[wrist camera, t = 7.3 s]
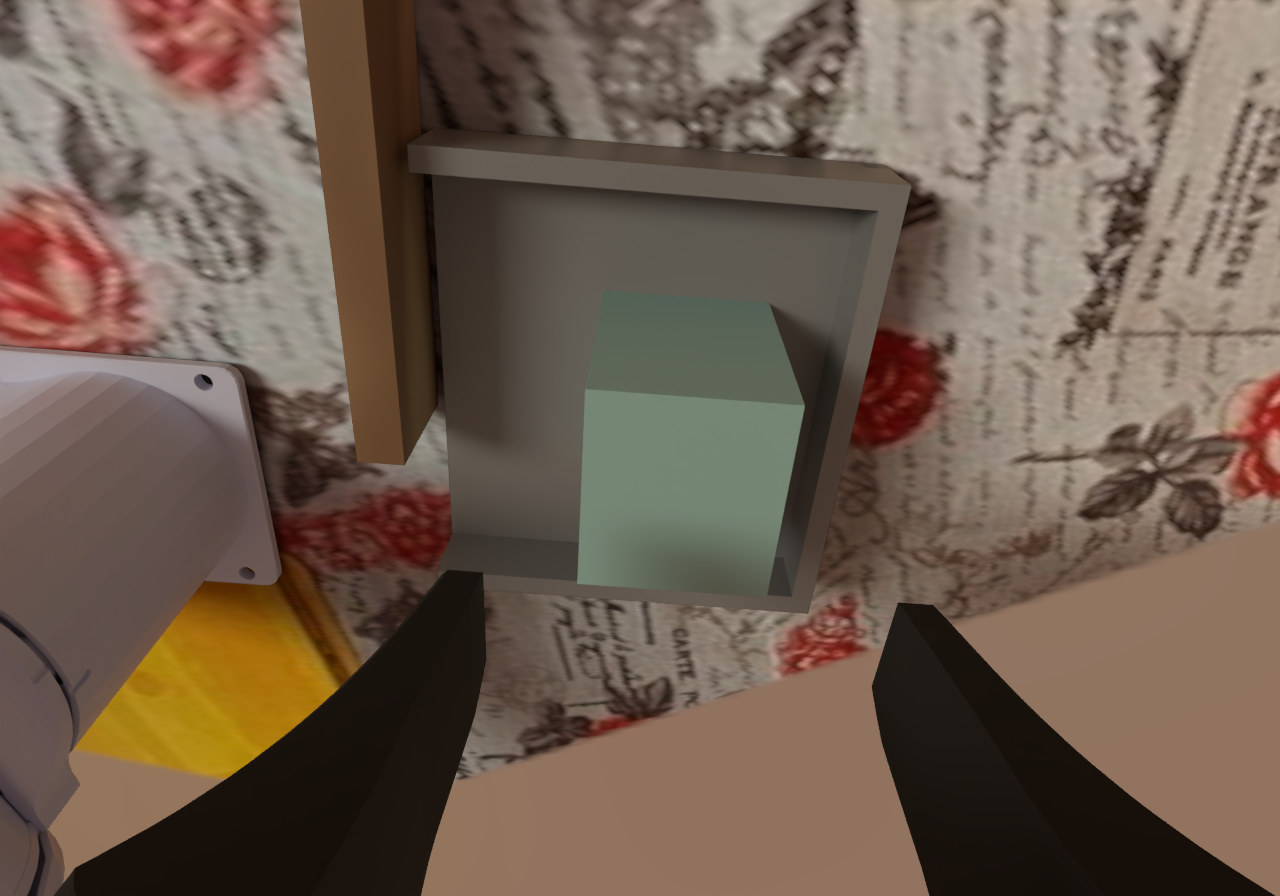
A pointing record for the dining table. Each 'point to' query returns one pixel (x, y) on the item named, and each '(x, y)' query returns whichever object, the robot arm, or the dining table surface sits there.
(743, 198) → the grey open tray
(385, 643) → the robot arm
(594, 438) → the block
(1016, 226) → the dining table surface
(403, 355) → the long wooden plank
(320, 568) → the dining table surface
